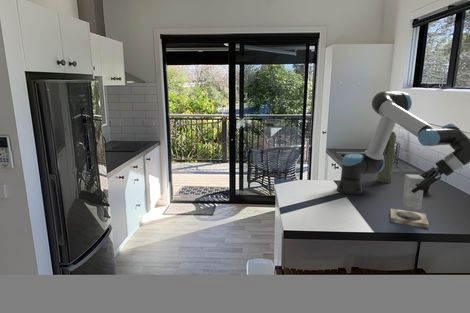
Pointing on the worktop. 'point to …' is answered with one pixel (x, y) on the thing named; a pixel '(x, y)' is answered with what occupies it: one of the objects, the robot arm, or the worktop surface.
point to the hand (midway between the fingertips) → (405, 192)
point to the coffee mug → (426, 190)
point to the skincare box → (416, 198)
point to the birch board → (409, 218)
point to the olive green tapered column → (388, 160)
